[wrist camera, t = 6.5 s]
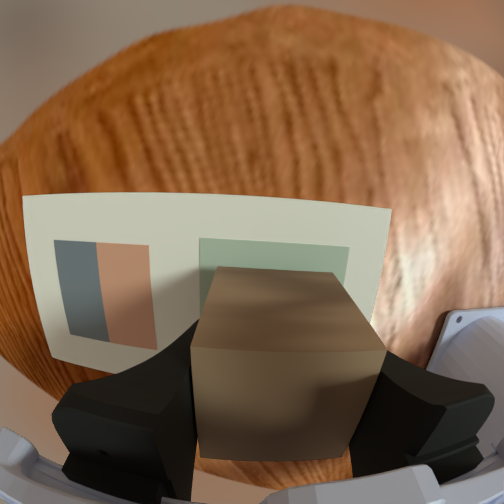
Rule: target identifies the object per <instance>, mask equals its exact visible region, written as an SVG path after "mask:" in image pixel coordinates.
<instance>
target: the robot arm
mask: <svg viewBox="0 0 504 504" xmlns="http://www.w3.org/2000/svg"><path fill="white" fill-rule="evenodd" d="M457 318H458V319H457ZM199 319H200V318H199ZM199 319H198V320H197V321H196V322H194V323H193V324H192V325H191V326H190V327H189V328H188V329H187V330H186V331H185V332H184V333H183V334H182V335H181V336H179V337H178V338H177V339H176V340H175V341H174V342H172V343H171V344H170V345H169V346H167V347H166V348H165V349H163V350H162V351H161V352H159V353H158V354H156V355H154V356H153V357H151V358H149V359H148V360H146V361H144V362H142V363H140V364H138V365H136V366H134V367H131V368H129V369H127V370H125V371H122V372H119V373H117V374H114V375H111V376H107V377H104V378H100V379H96V380H91V381H86V382H81V383H75V384H72V385H71V386H70V388H69V389H68V390H67V392H66V393H65V394H64V396H63V397H62V399H61V400H60V402H59V403H58V404H57V406H56V407H55V409H54V411H53V413H52V422H53V424H54V426H55V429H56V431H57V433H58V434H59V436H60V438H61V439H62V441H63V443H64V444H65V446H66V447H67V449H68V451H69V452H70V454H69V456H68V457H67V460H66V461H65V463H64V465H63V466H62V465H60V464H57V463H55V462H53V461H51V460H49V459H47V458H45V457H43V456H41V455H39V453H38V451H37V450H36V448H35V447H34V446H33V444H32V443H31V442H30V441H28V440H27V439H26V438H24V437H23V436H20V435H19V434H17V433H15V432H14V431H12V430H10V429H8V428H7V427H3V428H2V429H1V430H0V498H1V499H2V500H3V501H4V502H6V503H7V504H205V503H196V502H191V490H192V480H193V471H194V462H195V454H196V446H197V439H198V434H197V424H196V414H195V404H194V392H193V379H192V365H191V349H190V346H191V343H192V340H193V337H194V334H195V331H196V328H197V325H198V322H199ZM349 450H350V456H351V463H352V472H353V478H352V479H346V480H339V481H331V482H322V483H313V484H307V485H301V486H295V487H289V488H286V489H283V490H281V491H278V492H275V493H272V494H270V495H269V496H267V497H266V498H265V499H264V500H263V501H262V502H261V503H260V504H504V306H503V307H492V308H481V309H467V310H453V311H451V312H449V313H448V315H447V316H446V319H445V322H444V325H443V327H442V330H441V333H440V336H439V339H438V341H437V344H436V347H435V349H434V352H433V354H432V357H431V359H430V361H429V364H428V366H427V368H426V370H424V369H422V368H420V367H417V366H415V365H413V364H411V363H409V362H407V361H405V360H403V359H401V358H399V357H398V356H396V355H394V354H393V353H391V352H389V351H388V350H387V352H386V355H385V358H384V361H383V364H382V367H381V370H380V372H379V375H378V378H377V380H376V383H375V385H374V388H373V391H372V393H371V395H370V398H369V400H368V403H367V405H366V407H365V410H364V412H363V414H362V417H361V419H360V421H359V423H358V425H357V428H356V430H355V432H354V434H353V436H352V438H351V440H350V442H349Z"/></svg>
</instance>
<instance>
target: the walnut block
mask: <svg viewBox="0 0 504 504" xmlns="http://www.w3.org/2000/svg"><path fill="white" fill-rule="evenodd" d="M190 349H191V365H192V379H193V392H194V404H195V414H196V424H197V434H198V442H199V451H200V457H202V458H211V459H222V460H237V461H302V460H317V459H328V458H337V457H342V456H343V454H344V452H345V450H346V448H347V446H348V444H349V442H350V440H351V438H352V436H353V434H354V432H355V430H356V428H357V425H358V423H359V421H360V419H361V417H362V414H363V412H364V410H365V407H366V405H367V403H368V400H369V398H370V395H371V393H372V391H373V388H374V385H375V383H376V380H377V378H378V375H379V372H380V370H381V367H382V364H383V361H384V358H385V355H386V352H387V348H386V347H385V345H384V344H383V342H382V341H381V340H380V338H379V337H378V335H377V334H376V332H375V331H374V329H373V328H372V326H371V325H370V324H369V322H368V321H367V319H366V318H365V316H364V315H363V314H362V312H361V311H360V309H359V308H358V307H357V305H356V304H355V302H354V301H353V300H352V298H351V297H350V295H349V294H348V293H347V291H346V290H345V288H344V287H343V286H342V284H341V283H340V282H339V280H338V279H337V278H336V276H335V275H334V274H333V272H314V271H294V270H275V269H258V268H240V267H224V266H218V267H217V269H216V272H215V275H214V278H213V281H212V284H211V287H210V290H209V292H208V295H207V298H206V301H205V304H204V307H203V310H202V313H201V316H200V319H199V322H198V325H197V328H196V331H195V334H194V337H193V340H192V343H191V346H190Z"/></svg>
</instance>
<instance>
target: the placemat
mask: <svg viewBox="0 0 504 504" xmlns="http://www.w3.org/2000/svg"><path fill="white" fill-rule="evenodd" d="M391 211H392V209H387V208H379V207H371V206H363V205H354V204H345V203H335V202H325V201H314V200H303V199H291V198H277V197H263V196H247V195H227V194H204V193H165V192H104V193H68V194H46V195H29V196H23V213H24V226H25V236H26V245H27V253H28V260H29V266H30V272H31V278H32V283H33V288H34V293H35V297H36V302H37V306H38V310H39V314H40V318H41V322H42V326H43V329H44V333H45V336H46V340H47V343H48V346H49V349H50V352H51V355H52V358H56V359H59V360H62V361H66V362H69V363H73V364H77V365H80V366H84V367H88V368H92V369H96V370H101V371H105V372H110V373H114V374H117V373H119V372H122V371H125V370H127V369H129V368H131V367H134V366H136V365H138V364H140V363H142V362H144V361H146V360H148V359H149V358H151V357H153V356H154V355H156V354H158V353H159V352H161V351H162V350H163V349H165V348H166V347H167V346H169V345H170V344H171V343H172V342H174V341H175V340H176V339H177V338H178V337H179V336H181V335H182V334H183V333H184V332H185V331H186V330H187V329H188V328H189V327H190V326H191V325H192V324H193V323H194V322H196V321H197V320H198V319H199V318H200V316H201V313H202V310H203V307H204V304H205V301H206V298H207V295H208V292H209V290H210V287H211V284H212V281H213V278H214V275H215V272H216V269H217V267H218V266H224V267H240V268H258V269H275V270H294V271H314V272H333V274H334V275H335V276H336V278H337V279H338V280H339V282H340V283H341V284H342V286H343V287H344V288H345V290H346V291H347V293H348V294H349V295H350V297H351V298H352V300H353V301H354V302H355V304H356V305H357V307H358V308H359V309H360V311H361V312H362V314H363V315H364V316H365V318H366V319H367V321H368V322H369V324H370V321H371V317H372V313H373V309H374V305H375V300H376V296H377V292H378V287H379V282H380V277H381V272H382V267H383V262H384V257H385V251H386V245H387V239H388V232H389V226H390V218H391Z"/></svg>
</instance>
